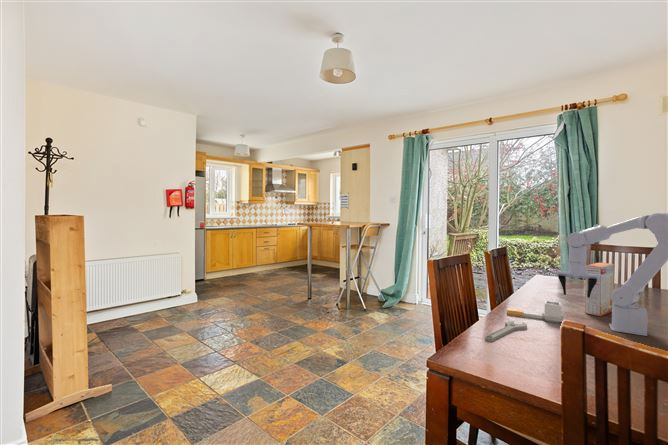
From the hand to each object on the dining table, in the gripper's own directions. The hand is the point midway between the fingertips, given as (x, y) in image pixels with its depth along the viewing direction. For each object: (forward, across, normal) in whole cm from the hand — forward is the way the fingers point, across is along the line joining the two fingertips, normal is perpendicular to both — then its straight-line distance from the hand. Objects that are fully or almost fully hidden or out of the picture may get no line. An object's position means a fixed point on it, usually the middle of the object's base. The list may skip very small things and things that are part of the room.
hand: (576, 295), depth 132 cm
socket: (+7, +8, +8) cm, 13 cm away
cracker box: (+10, -9, -16) cm, 21 cm away
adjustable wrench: (+10, +23, +32) cm, 41 cm away
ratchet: (+9, +14, +8) cm, 19 cm away
